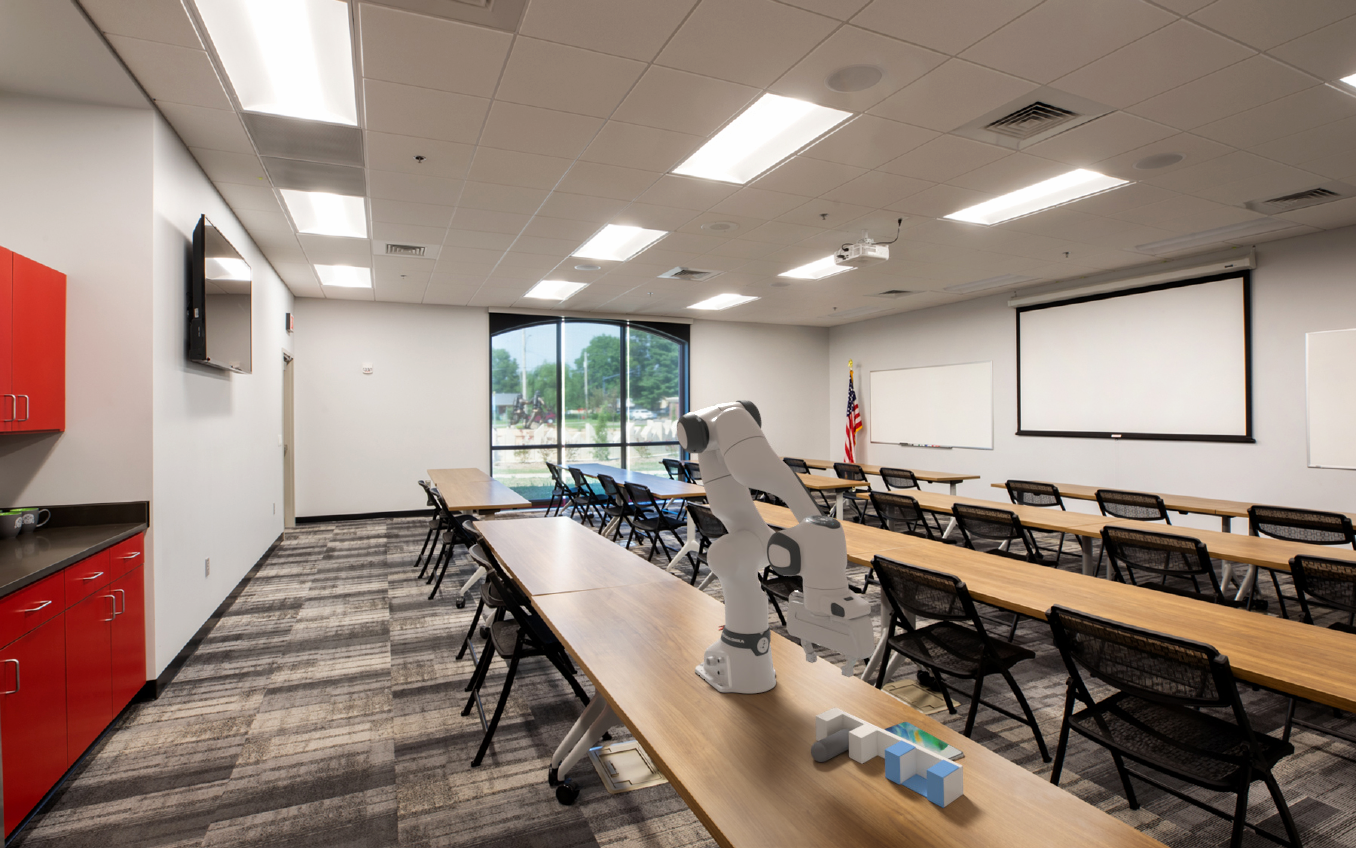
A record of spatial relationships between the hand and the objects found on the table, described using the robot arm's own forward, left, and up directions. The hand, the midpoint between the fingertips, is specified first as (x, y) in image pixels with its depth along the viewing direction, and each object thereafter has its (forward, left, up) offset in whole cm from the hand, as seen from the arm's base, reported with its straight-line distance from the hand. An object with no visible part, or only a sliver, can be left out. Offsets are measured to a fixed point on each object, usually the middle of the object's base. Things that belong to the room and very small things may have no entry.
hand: (829, 668), depth 122 cm
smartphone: (+8, +19, -18) cm, 27 cm away
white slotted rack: (+8, +6, -17) cm, 20 cm away
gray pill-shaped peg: (0, +1, -18) cm, 18 cm away
